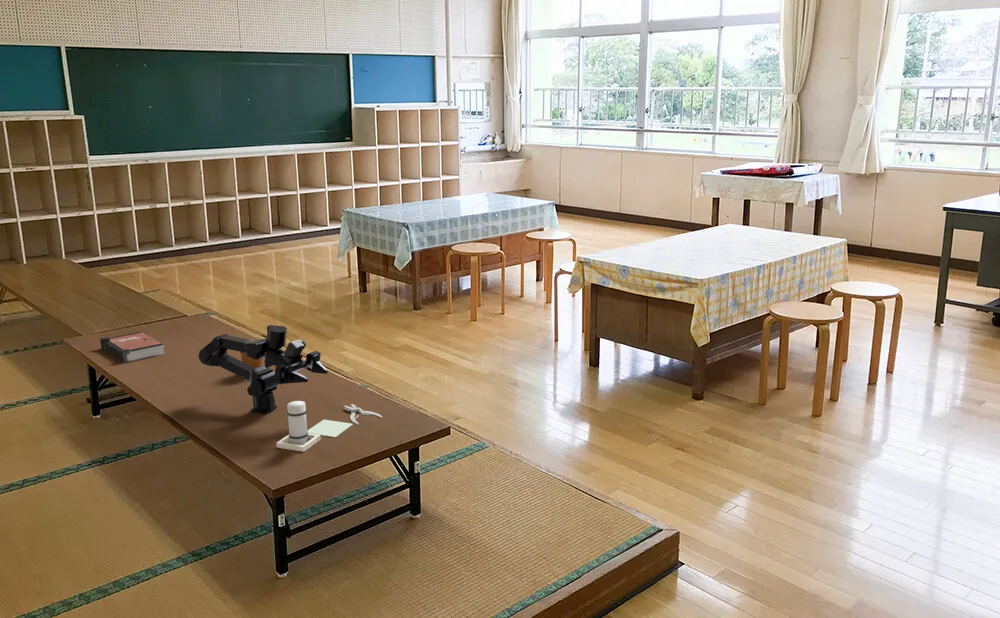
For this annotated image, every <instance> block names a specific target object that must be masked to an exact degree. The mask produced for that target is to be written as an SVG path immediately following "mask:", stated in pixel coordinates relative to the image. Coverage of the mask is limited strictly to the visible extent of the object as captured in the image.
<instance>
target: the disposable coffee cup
mask: <svg viewBox="0 0 1000 618" xmlns="http://www.w3.org/2000/svg"><path fill="white" fill-rule="evenodd" d="M239 353H240V357H241V361H242V362H244V363H246V364H248V365H250V366H252V367H254V368H259V367H261V366H263V358H260V359H257V360H255V359H252V358H250V357H248V356H247V355H246V353H243V352H239Z"/></svg>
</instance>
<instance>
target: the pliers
mask: <svg viewBox="0 0 1000 618" xmlns="http://www.w3.org/2000/svg"><path fill="white" fill-rule="evenodd" d="M343 409H344V410H345V411H347V412H348V413H350V415H349V418H350V421H351V422H352V424H355V425H360V423H359V422H358V421H357V419H358V418H359V416H360V415H359V414H361V416H375V417H377V418H380V419H383V418H384V417H383V416H382V415H381V414H379V413H377V412H374V411H368V410H363V409H362V408H361V407H357V405H355V404H354V403H352V404H350V406H348V405H344V406H343ZM356 413H359V414H357V415H356Z"/></svg>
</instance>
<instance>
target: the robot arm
mask: <svg viewBox="0 0 1000 618" xmlns="http://www.w3.org/2000/svg"><path fill="white" fill-rule="evenodd" d="M266 330H267V333H266V338H258V339H257V338H256V339H248V338H242V337H238V336H233V335H229V334H227V333H223V334H220V335H217V336H215V337H214V338H212V340H211V341H210V342H209V343H208V344H206V345H205V346H203V348H201V349H200V350H199V352H198V359H199V362H200V363H201V364H202V365H204V366H207V367H208V366H209V367H219V368H221V369H224V370H226V371H228V372H230V373H232V374H234V375H235V376H238V377H241V379H244V380H246V381H247V382H249V386H248V387H247V389H246V391H247V394H248V395H249V396H251V397H252V404H253V405H252V406H253V407H252V408H251V409H250V412H253V413H262V414H268V413H269V412H271V411H273V410H274V409H276V408H278V406H277V405H276V401H275V396H274V391H277V389H278V385H286V384H296V383H297V384H298V383H308V382H309V379H308V378H307V376H305V375H303V374H301V373H300V372H301V371H303V370H305V369H306V370H307V371H309V372H311V373H315V374H323V375H324V374H325V375H326V374H328V370H327V368H326V367H325V366H324V365H323V363H322V362H321V356H322V355H321V352H320V351H317V350H314V351H312V352H309V353H307V354H306V356H305V357H306V358H305V360H304V361H303V360H302V359H303V356H304V355H303V354H302V352H303V351H304V350H305V347H306V346H307V343H306V342H305V340H303V339H300V338H299V339H295V340H293V341H290V342H289V343H288V344H287V343H286V342H287V334H288V328H287V327H286V326H284V325H274V324H269V325H267V328H266ZM286 344H287V347H286V348H285V350H283V349H282V348H283V347H285V346H286ZM229 350H231V351H235V352H239V353H240V352H243V353H246V355H247V356H248V357H250V358H252V359H255V360H257V359H260V358H262V359H263V358H264V360H263V363H264V365H262V366H261V367H259V368H254V367H252V366H250V365H248V364H246V363H244V362H242V360H239V359H237V358H235V357H233V356H231V355H229V353H228V351H229ZM273 366H275V369H273V368H270V367H273Z"/></svg>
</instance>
